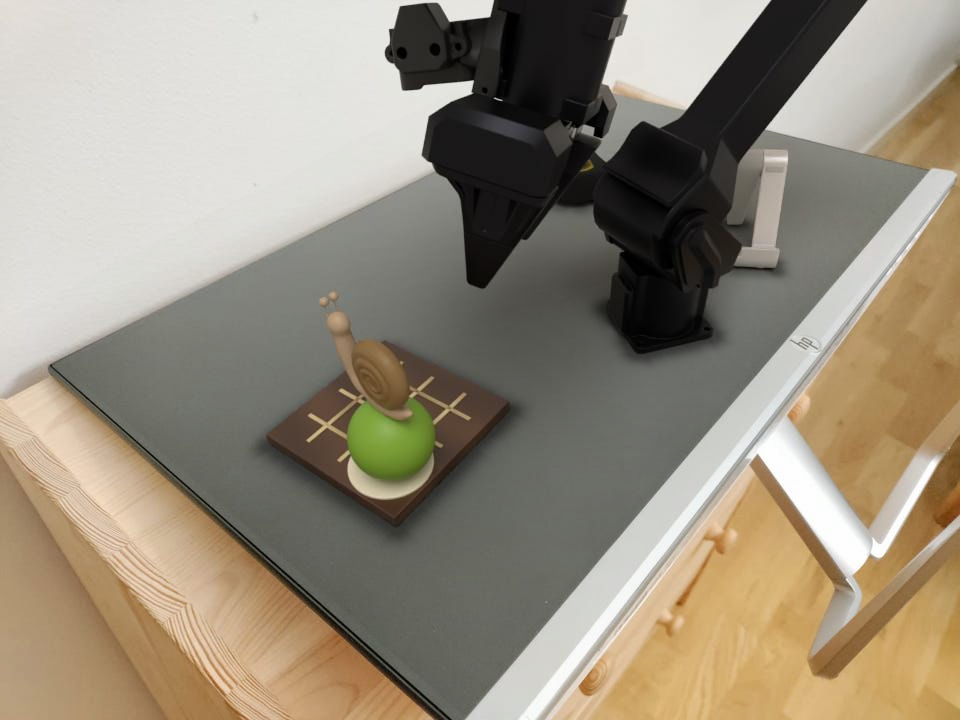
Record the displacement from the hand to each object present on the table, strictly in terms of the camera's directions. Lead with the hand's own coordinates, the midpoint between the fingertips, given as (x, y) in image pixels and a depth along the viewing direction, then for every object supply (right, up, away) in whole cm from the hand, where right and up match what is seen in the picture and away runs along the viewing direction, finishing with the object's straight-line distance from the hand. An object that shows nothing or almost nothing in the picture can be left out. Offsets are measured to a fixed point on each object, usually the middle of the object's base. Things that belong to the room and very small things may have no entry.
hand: (500, 259), depth 44 cm
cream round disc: (-7, -14, +3) cm, 16 cm away
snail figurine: (-7, -13, +2) cm, 15 cm away
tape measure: (+9, +11, +30) cm, 33 cm away
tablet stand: (+20, +4, +21) cm, 29 cm away
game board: (-8, -11, +6) cm, 15 cm away
